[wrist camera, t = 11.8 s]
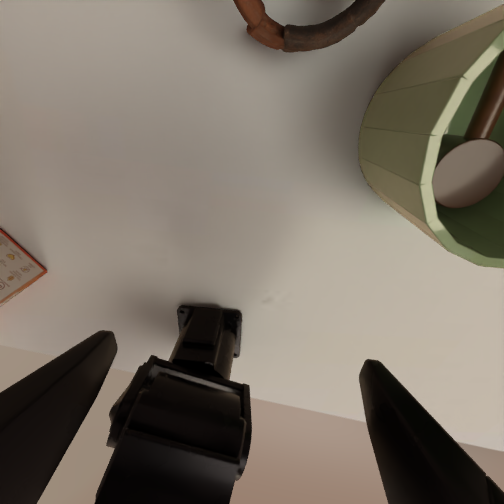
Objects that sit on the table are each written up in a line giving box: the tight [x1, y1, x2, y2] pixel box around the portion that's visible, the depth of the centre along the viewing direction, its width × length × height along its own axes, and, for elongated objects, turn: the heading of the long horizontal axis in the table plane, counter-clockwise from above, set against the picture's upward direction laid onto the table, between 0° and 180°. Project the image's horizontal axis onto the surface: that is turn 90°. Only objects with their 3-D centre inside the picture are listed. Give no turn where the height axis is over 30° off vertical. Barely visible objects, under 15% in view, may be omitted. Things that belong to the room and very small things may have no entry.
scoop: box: [432, 50, 504, 208], centre depth 14 cm, size 8×4×3 cm, turn 176°
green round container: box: [358, 4, 504, 268], centre depth 13 cm, size 10×10×8 cm
